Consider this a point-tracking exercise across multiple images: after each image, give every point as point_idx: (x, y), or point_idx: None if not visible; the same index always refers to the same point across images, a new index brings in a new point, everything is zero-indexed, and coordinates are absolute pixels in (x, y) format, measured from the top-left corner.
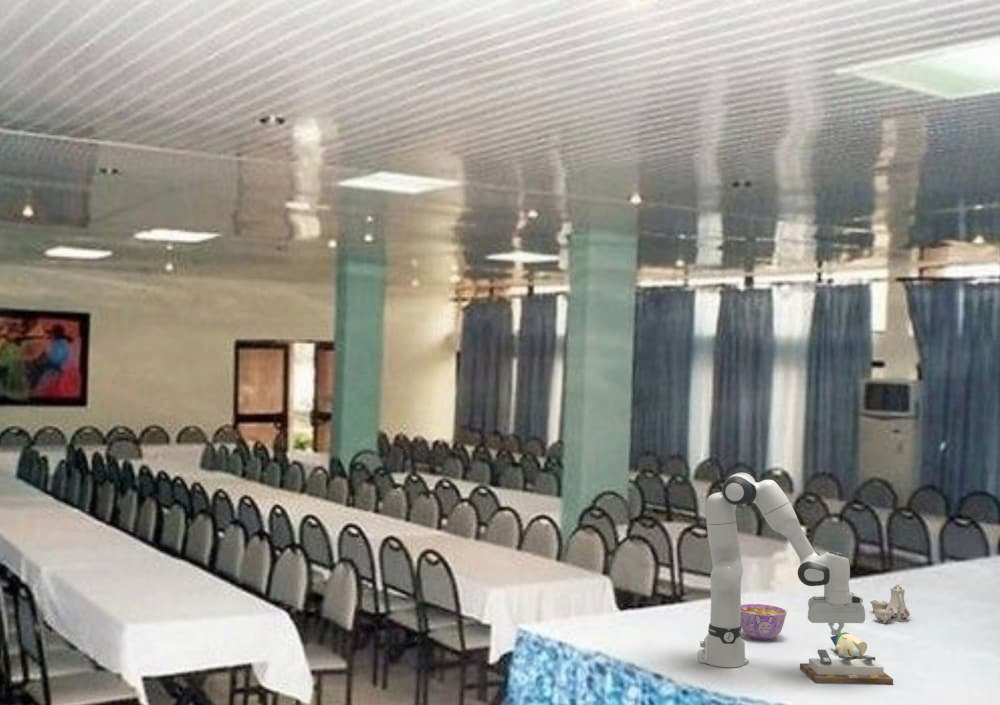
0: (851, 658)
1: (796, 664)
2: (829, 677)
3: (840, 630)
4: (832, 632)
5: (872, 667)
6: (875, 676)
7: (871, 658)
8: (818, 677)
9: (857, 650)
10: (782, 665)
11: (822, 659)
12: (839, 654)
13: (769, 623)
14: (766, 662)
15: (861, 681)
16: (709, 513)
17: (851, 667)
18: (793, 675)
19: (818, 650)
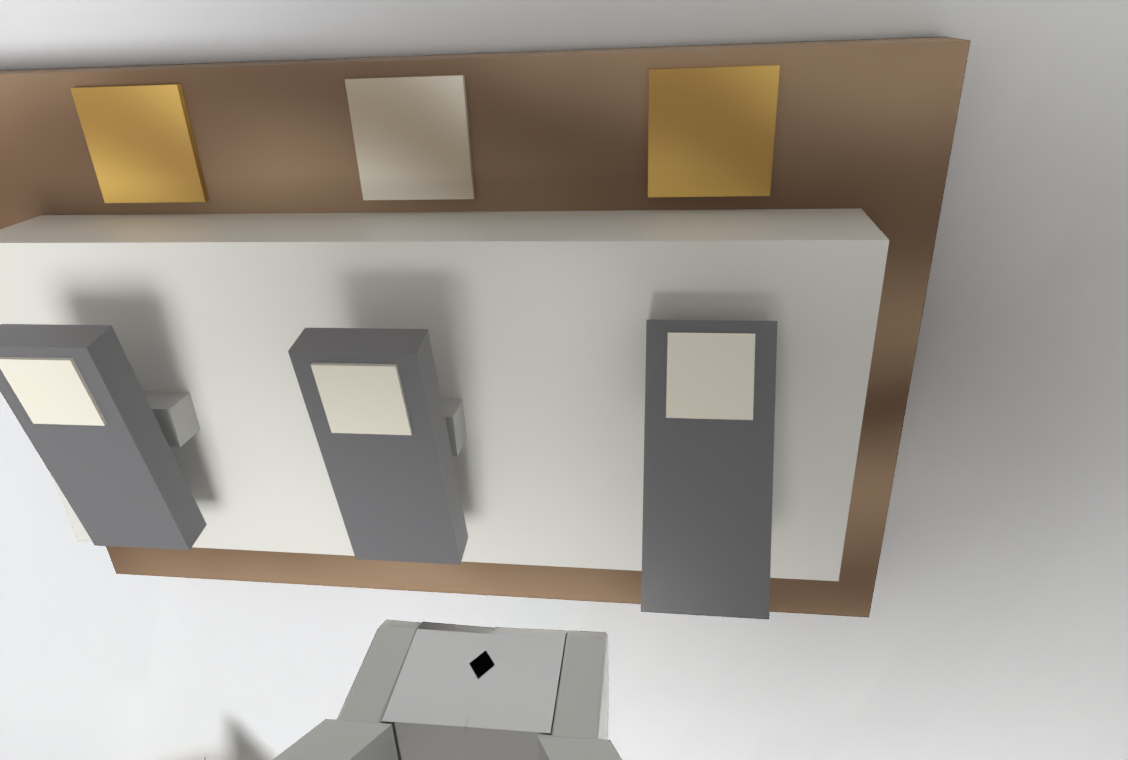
0: (330, 338)
1: (823, 686)
2: (754, 66)
3: (348, 719)
4: (604, 704)
5: (101, 240)
6: (128, 148)
7: (38, 337)
8: (926, 52)
9: None
10: (989, 665)
11: (773, 381)
12: None
13: None
14: (1107, 743)
15: (328, 61)
16: None
17: (382, 237)
18: (1067, 360)
19: (766, 595)
